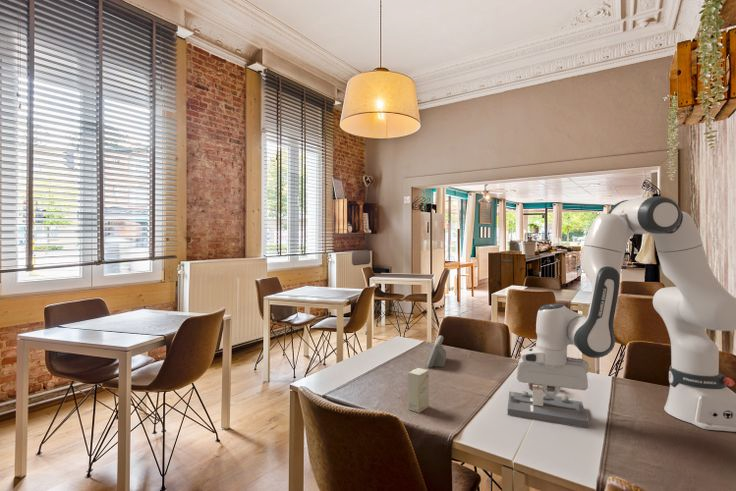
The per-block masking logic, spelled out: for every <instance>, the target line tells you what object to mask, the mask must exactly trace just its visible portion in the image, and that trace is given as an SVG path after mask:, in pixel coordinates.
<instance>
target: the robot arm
mask: <svg viewBox="0 0 736 491" xmlns="http://www.w3.org/2000/svg"><path fill="white" fill-rule="evenodd" d="M646 234H649V235H651V236H652V239H653V240H654V244H655V249H656V252H657V253H656V254H657V256H658V260H659V264H660V268H661V271H662V274H663V275H664V276H665V278H667V279H668V280H670V282H672V283H673V284H674V285H675V286H668V287H662V288H660V289H658V290H657V291H656V292H654V295H653V297H652V305H653V309H654V310H655V311H656V312H657V314H659V316H660V317H661V318H662V321H663V322H664V324H665V327H666V330H667V333H668V336H669V339H670V352H671V353H670V356H671V357H670V359H671V364H670V365H669V371H668V381H669V391H668V396H667V398H666V402H665V405H664V408H663V409H664V411H665V413H667V414H669V415H670V416H672V417H674V418H676V419H679V420H681V421H683V422H687V423H689V424H692V425H694V426H696V427H698V428H700V429H704V430H709V431H722V432H723V431H724V432H733V433H735V432H736V392H734V391H733V390H731V389H730V388H729V387H734V385H735V384H736V383H735V381H734V380H733V379H732V378H730V377H726V376H725V375H724V374H722V373H721V372H719V368H720V367H719V364H720V363H719V362H720V360H719V359H720V358H719V357H720V350H719V348H718V346H717V343H715V342H714V341H713V340H712V339H711V338H710V336H709V335H708V333H707V332H706V330H710V331H722V332H733V331H736V297H735V296H733V295H732V294H731V293H730V292H729V291H728V290H727V289H726V288H725V287H724V286H723V285H722V284H721V282H720V281H719V280H718V278H717V276H716V275H715V274H714V272H713V271H712V269H711V266H710V264H709V261H708V257H707V255H706V251H705V247H704V244H703V241H702V237H701V234H700V231H699V229H698V227H697V225H696V223H695V221H694V219H693V217H692V216H691V214H689V212H685V211H682V210H681V208H680V206H679V205H678V204H677V203H676V202H675V201H674V200H673V199H671V198H670V197H669V198H668V197H666V196H658V195H656V196H641V197H636V198H633V199H632V198H631V199H624V200H621V201H619V202H617V203H615V204H614V205H612V207H611V208H610V209H609V211H608V212H607V213H603V214H599V215H598V216H596V217H595V218H594V219H593V221H592V223H591V225H590V227H589V229H588V232H587V234H586V237H585V239H584V244H583V245H582V250H581V254H580V255H581V256H580V266H581V270H582V271H583V272H584V274H585V275H586V276H587V278H588V280H589V283H590V285H591V298H590V302H589V306H588V307H589V308H588V314H587V315H584V314H581V313H579V312H576V311H573V310H571V309H569V308H568V307H567V306H565V305H564V304H562V303H546V304H544V305H541V306H540V307H539V308H538V311H537V314H536V324H535V327H536V328H535V333H536V336H537V337H536V342H535V346H533V347H527V348H523V349H521V352H520V358H519V360H518V364H517V369H516V380H517V381H518V382H519V383H526V384H528V383H532V384H539V385H542V388H543V393H544V394H546V399H551V400H556V398H557V395H558V394H559V393H560V391H561V388H563V389H571V390H576V391H577V390H579V391H586V390H587V389H589V381H588V380H589V379H588V375H587V374H588V373H589V371H590V366H589V365H590V364H589V363H588V361H587V360H584V358H576V357H570V356H568V346H569V345H573V346H574V347H576V348H577V349H578V351H579V352H581V354H583V355H584V356H586V357H588V358H592V359H600V358H603V357H606V356H607V355H610V353H611V352H612V351H613V350H614V347H615V346H616V336H615V329H614V319H615V315H616V314H615V313H616V308H617V303H618V298H619V294H620V293H619V292H620V283H621V282H620V281H621V271H622V270H621V269H622V267H623V266H622V265H623V262H624V257H625V253H626V250H627V246H628V242H629V240H630V239H631V237H632V236H633V235H646ZM547 386H549V387H552V386H555V387H554V391H553V392H551V391H548V390H547V389H548V388H547Z"/></svg>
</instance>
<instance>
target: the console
mask: <svg viewBox="0 0 736 491" xmlns="http://www.w3.org/2000/svg"><path fill="white" fill-rule="evenodd" d="M507 416H512V417H518V418H525V419H532V420H537V421H543V422H549V423H555V424H561V425H567V426H574V427H580V428H586V429H589V419H588V416H587V413H586V410H585V407H584V404H583V401H580V400H574V399H570V398H569V397H568V396H561V398H559V397H558V398H557V397H556V400H551V399H546V394H545V393H543V406H537V405H533V394H529V392H528V391H526V390H523V391H521V392H517V391H509V394H508V400H507Z"/></svg>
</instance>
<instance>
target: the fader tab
mask: <svg viewBox="0 0 736 491" xmlns="http://www.w3.org/2000/svg"><path fill="white" fill-rule="evenodd" d="M543 394H544V390H543V388H542V386H540V385H533V388H532V395H533V405H537V406H543Z"/></svg>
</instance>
